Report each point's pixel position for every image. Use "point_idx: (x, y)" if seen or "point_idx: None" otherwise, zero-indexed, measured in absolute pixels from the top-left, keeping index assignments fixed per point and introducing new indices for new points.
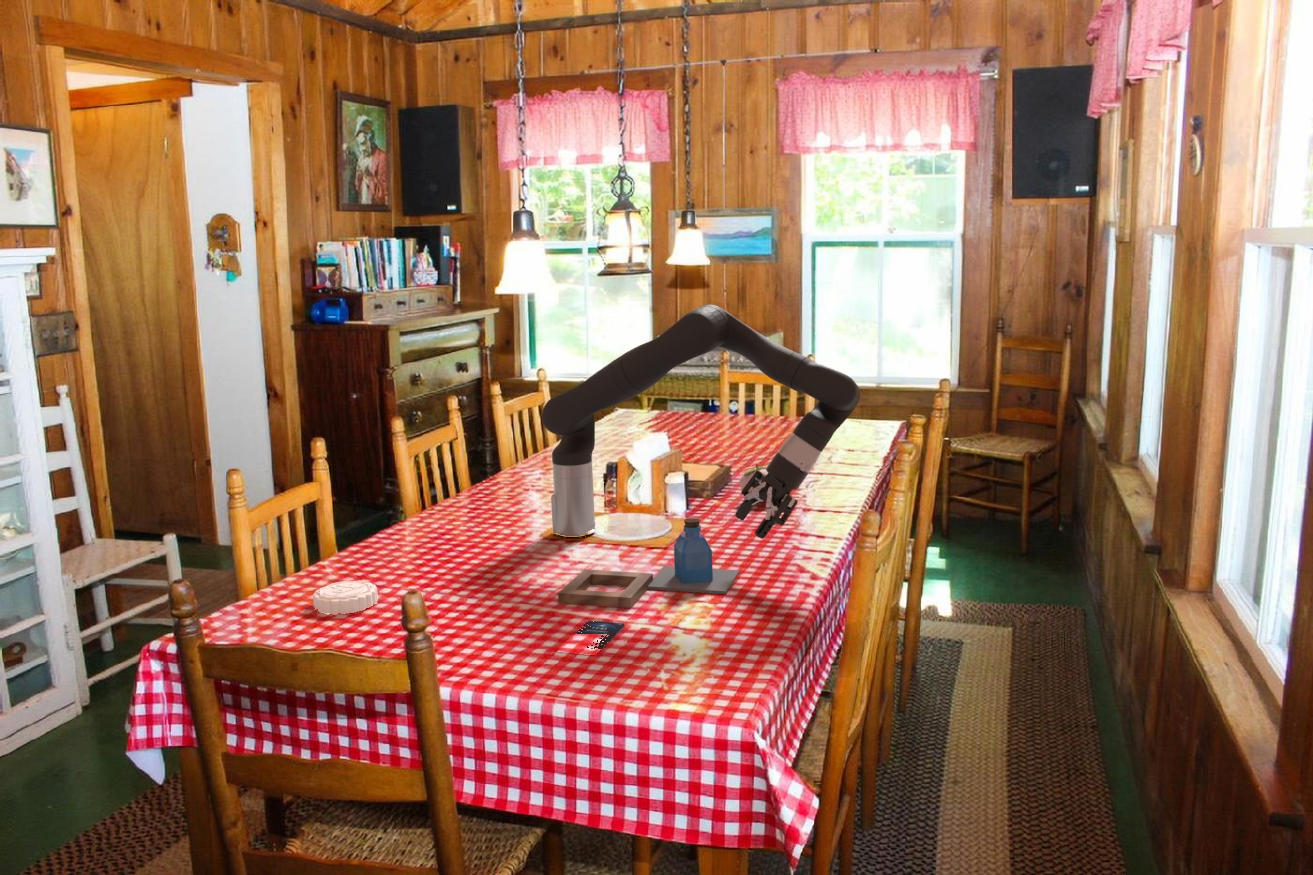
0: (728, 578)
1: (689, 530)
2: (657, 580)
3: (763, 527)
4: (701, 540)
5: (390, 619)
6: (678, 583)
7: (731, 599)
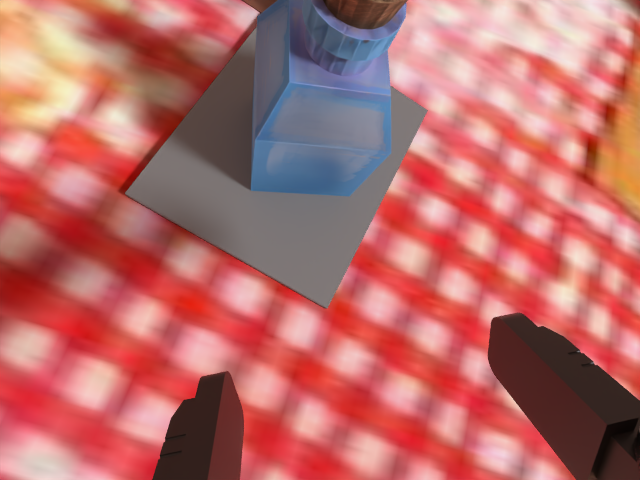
0: (256, 246)
1: None
2: None
3: (177, 456)
4: (283, 71)
5: None
6: None
7: (65, 197)
